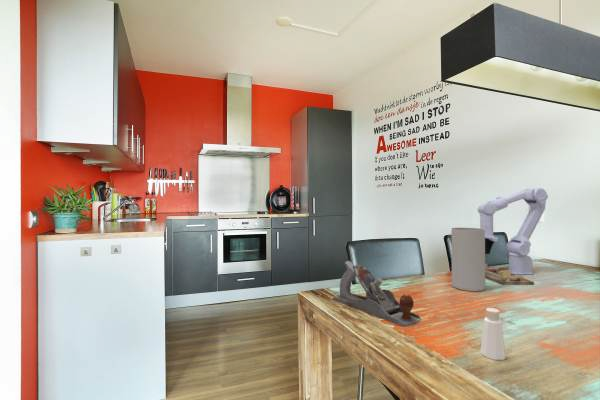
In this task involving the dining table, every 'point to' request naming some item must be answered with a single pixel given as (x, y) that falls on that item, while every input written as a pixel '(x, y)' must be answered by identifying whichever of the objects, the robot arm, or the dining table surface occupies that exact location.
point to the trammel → (494, 273)
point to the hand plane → (375, 298)
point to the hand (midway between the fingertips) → (486, 253)
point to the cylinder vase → (468, 259)
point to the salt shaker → (493, 336)
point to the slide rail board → (511, 280)
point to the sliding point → (508, 274)
